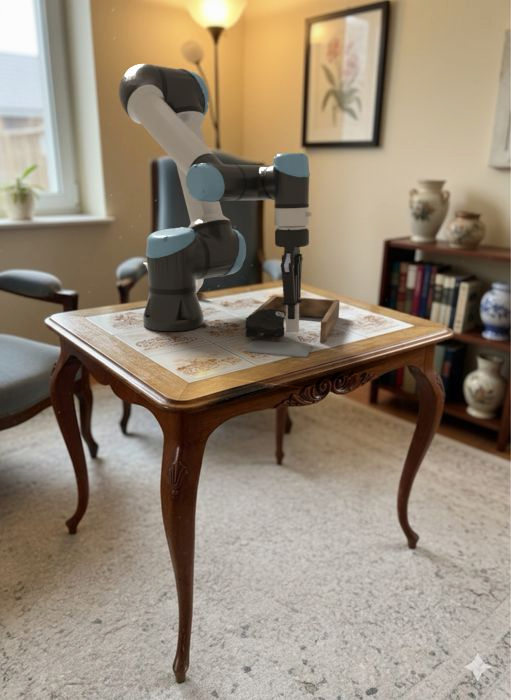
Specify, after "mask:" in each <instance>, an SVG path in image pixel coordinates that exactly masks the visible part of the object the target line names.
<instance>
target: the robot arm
mask: <svg viewBox="0 0 511 700" xmlns="http://www.w3.org/2000/svg"><path fill="white" fill-rule="evenodd" d="M118 98H119V102H120V104H121V107H122V109H123V111H124V112H125V113H126V114H127V116H128V117H129V118H130V120H132V121H133V122H134V123H136V124H138V125H142V126H143V127H144V129H145V130H146V132H148V133H149V135H150V136H151V137H152V138H153V139H154V140H155V142H157V143H158V144H159V146H160V147H161V148H162V149H163V150H164V151H165V153H166V154H167V155H168V156H169V157H170V158H171V159H172V161H173V162H174V163H175V165H176V167H177V168H176V170H177V173H178V177H179V179H180V184H181V189H182V193H183V197H184V201H185V205H186V208H187V212H188V216H189V217H188V218H189V221H190V224H189V226H188V227H175V228H166V229H162V230H161V229H160V230H157V231H154V232H152V233H150V234H149V235H148V237H147V238H146V249H145V250H146V251H145V255H146V263H147V266H148V270H147V280H148V283H147V284H148V296H147V301H146V303H145V304H146V305H145V308H144V311H143V317H142V319H143V321H142V322H143V326H144V327H145V328H146V329H149V330H153V331H158V332H182V331H190V330H194V329H197V328H199V327H202V326H203V325H204V323H205V322H204V321H205V320H204V313H203V309H202V307H201V304H200V301H199V298H198V295H197V293H196V280H197V279H198V280H199V279H204V280H205V279H210V278H216V277H221V278H222V277H226V276H228V275H233V274H235V273H237V272H239V270H240V269H241V268H242V267H243V263H244V261H245V259H246V257H247V256H246V255H247V246H246V244H247V243H246V242H245V241H246V240H245V238H244V236H243V234H241V233H240V232H239V231H238V230H236V229H233V227H232V223H231V220H230V219H229V218H228V217H226V216H225V215H224V214H223V211H222V206H221V203H220V202H229V201H230V202H231V201H232V202H233V201H234V202H235V201H266V200H267V201H270V200H271V201H273V202H274V208H273V209H274V214H273V215H274V227H276V229H275V230H274V245H275V246H276V247H278V248H284V250H283V254H282V255H281V262H280V270H281V279H282V293H283V295H282V296H283V297H284V302H283V303H282V304H283V305H286V314H285V318H286V319H285V326H286V329H285V330H286V331H285V332H286V333H296V334H297V333H299V332H300V320H299V316H300V315H299V304H298V303H302V300H299V298H300V297H301V298H302V295H301V289H302V268H303V259H304V258H303V254H302V253H301V250H300V248H303V247H307V246H308V245H310V230H309V228H307V227H308V226H309V224H310V223H309V222H310V221H309V219H310V218H309V217H312V212H311V211H309V209H310V208H309V207H310V204H309V203H310V202H309V198H310V196H309V195H310V174H311V173H310V164H309V157H308V155H307V154H305V153H302V152H289V153H287V152H285V153H277V154H275V155H274V157H273V163H272V164H263V165H262V164H261V165H260V164H259V165H258V164H257V165H253V164H251V165H250V164H249V165H248V164H225V163H223V162H222V161H221V160H220V159H219V158H218V156H216V155H215V154H214V153H213V151H212V150H210V148H209V147H208V146H207V145H206V141H205V138H204V134H203V129H202V125H203V123H204V122H205V120H206V117H205V116H206V114H207V112H208V110H209V105H208V103H209V102H210V95H209V90H208V86H207V84H206V82H205V80H204V79H203V77H202V76H201V75H199V73H196V72H194V71H190V70H187V69H185V68H175V67H174V68H173V67H167V66H160V65H155V64H150V63H141V64H136V65H134V66H131V67H130V68H129V69H127V71H126V72H124V74H123V75H122V77H121V80H120V82H119V86H118Z"/></svg>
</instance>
